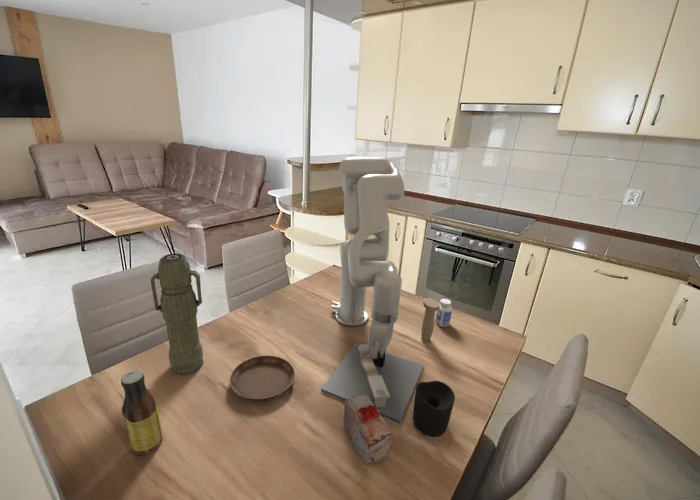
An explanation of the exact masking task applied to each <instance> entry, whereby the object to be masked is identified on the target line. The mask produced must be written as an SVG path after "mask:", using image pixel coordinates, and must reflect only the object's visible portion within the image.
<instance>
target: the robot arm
mask: <svg viewBox="0 0 700 500" xmlns="http://www.w3.org/2000/svg"><path fill="white" fill-rule="evenodd" d="M338 175H339V176H338V177H339V182H340V186H341V189H342V192H343V196H344V197H343V198H344V199H343V200H344V201H343V202H344V203H343V205H344V206H343V207H344V208H343V210H344V211H343V212H344V213H343V215H344V216H343V223H344V225H343V226H344V230H345V232H346V234H347V235H350V236H354V237H352V238H350V239H347V240H344V241H343V242H342V243H341V245H340V247H339V254H340V266H341V267H340V268H341V269H340V270H341V271H340V272H341V274H340V292H339V293H340V297H339V302H338V301H336V300H331V303H330V305H331V306H330V309H332V310H336V312H335V313H334V314H335V315H334V316H335V320H336V321H337V322H339V323H340V324H342V325H345V326H350V327H356V326H361V325H364V324H365V323H367V321H368V320H369V314H368V312H367V311H366V310H365V307H366V295H367V288H373V291H372V292H373V293H372V299H371V300H372V301H371V310H370V311H371V312H370V319H371V323H370V328H369V333H368V339H367V344H366V345H367V350H368V351H371V349H372V348H374V350H373V356H372V358H373V363H374V365H376V366H378V367H381V368H382V367H383V365H384V363H385V355H386V354H384V353H387V348H388V346H389V344H390V342H392V339H393V334H394V325H395V323H396V322H398V321H397V320H398V314H399V307H400V301H401V293H402V292H401V291H402V286H403V285H402V284H403V279H402V276H401V275H400V274H399V273H398V269H397V266H396V265H395V263H394V262H393V261H391V260H388V258H389V251H390V250H389V249H390V247H389V246H390V245H389V244H390V219H389V214H388V203H397V202H401V201H402V200H403V198H404V196H405V189H406V188H405V183H404V179H403V177H402V175H401V172H400V171H399V170H398V168H397V166H396V165H395V163H394V162H393V161H392V159H390V158H388V157H379V156H378V157H377V156H376V157H373V156H371V157H370V156H351V157H346V158H344V159H342V160H341V161H340V163H339V168H338ZM371 236H373V238H369V237H371Z"/></svg>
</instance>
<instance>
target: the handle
mask: <svg viewBox="0 0 700 500" xmlns="http://www.w3.org/2000/svg"><path fill="white" fill-rule="evenodd" d="M422 304H423V307H424V308H425V310H424V314H423V319H422V325H421V333H420V334H421V341H422V342H424V343H427V342H428V343H429V342H431V338H432V336H433V332H434V325H435V319H436V312H437V310H439V309H440V302H438V301H437V300H436V299H434V298H431V297H426V298H423V299H422Z"/></svg>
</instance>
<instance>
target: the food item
mask: <svg viewBox="0 0 700 500" xmlns="http://www.w3.org/2000/svg"><path fill="white" fill-rule="evenodd" d="M343 407H344V409H343V410H344V411H343V419H342V420H343V421H342V422H343V424H344V425H345V427H346V428H347V430H348V432H349V435H350V436H351V440H352V441H351V442H352V446H353V447H354V448H355V449H356V451H357V453H358V454H359V455H360V456H361V457H362V460H363V462H365V465H367V464H370V463H374V462H376V463H377V462H380V461H381V460H382V459H385V458H387V457H388V456H389V453H390V448H391V444H392V443H393V441H392V439H393V436H394V435H393V431H392V430H391V428H390V426H389V424H387V421H386V420H385V418H384V417H382V416H381V415H380V414H379V411H378V409H377V408H376V406H374V405H373V404H372V402H371V401H370V399H369V397H368V396H366V395H360V396H355V397H352V398H349V399H347V400H346V401H344V406H343Z"/></svg>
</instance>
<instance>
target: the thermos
mask: <svg viewBox="0 0 700 500" xmlns="http://www.w3.org/2000/svg"><path fill="white" fill-rule="evenodd" d="M157 271H158V272H157V273H153V275H152V277H151V278H150V284H151V289H152V290H151V291H152V297H153V303H154V309H155V311H160V313H162V319H164V321H165V325H166V331H167V339H168V343H169V344H168V345H169V347H168V348H169V349H168V359H169V365H170V366H171V371H172V373H173V374H175V375H178V376H187V375H192V374H193V373H196V372H197V371H199V370H200V369H201V368H202V367H203V365H204V359H203V357H204V353H203V351H204V350H203V346H202V342H201V340H200V335H199V328H198V318H197V315H198V307H199V306H201V305H202V303H203V297H202V289H201V288H202V286H201V276H200V273H199V272H198V271H196V270H192V269H191V266H190V262H189V261H188V259H187V257H186V256H185V255H184V254H181V253H169V254H166V255H163V256H162V257H161V258H160V259H159V263H158V267H157ZM192 276H193V277H194V278H195V283H196V291H197V295H196V292H195V291H194V289H193V285H192ZM156 279H157V280H159V284H160V288H161V297H160V299H159V300H160V301H158V295H157V290H156V288H157V287H156V283H155V281H156ZM159 302H160V304H159Z"/></svg>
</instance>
